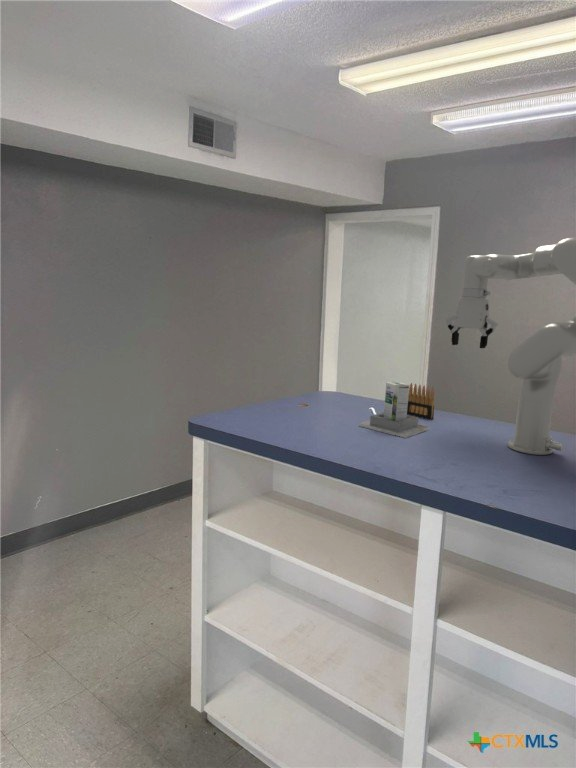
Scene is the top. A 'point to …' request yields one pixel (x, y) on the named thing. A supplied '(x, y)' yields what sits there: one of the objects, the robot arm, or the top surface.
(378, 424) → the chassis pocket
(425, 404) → the ammunition clip
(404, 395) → the syrup box
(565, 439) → the top surface
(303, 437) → the top surface
